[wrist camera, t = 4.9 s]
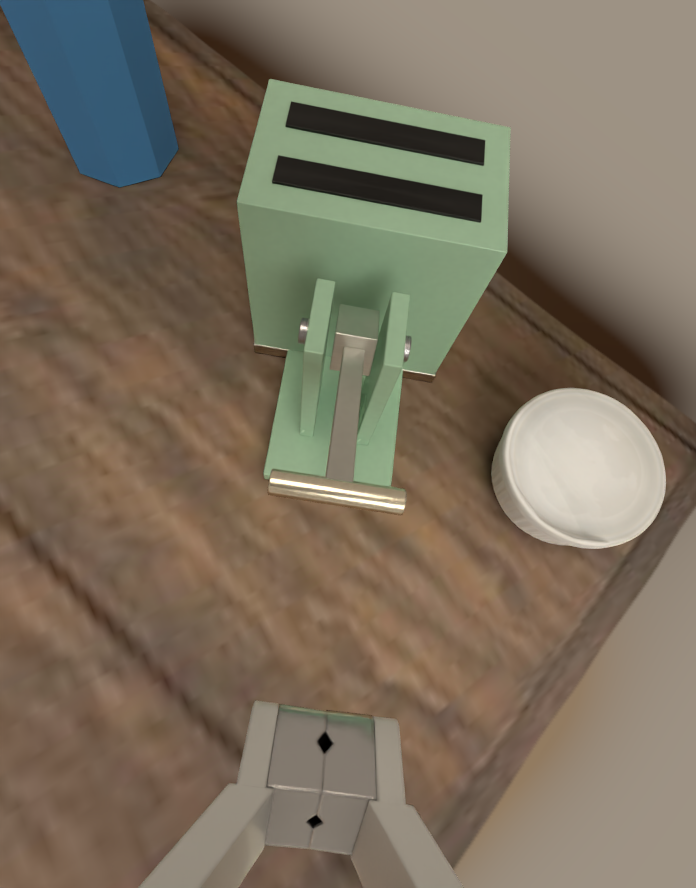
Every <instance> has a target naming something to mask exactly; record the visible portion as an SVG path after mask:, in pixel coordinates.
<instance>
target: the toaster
mask: <svg viewBox="0 0 696 888" xmlns="http://www.w3.org/2000/svg"><path fill="white" fill-rule="evenodd" d="M510 129H511V128H510V127H505V126H500V125H495V124H490V123H485V122H481V121H476V120H470V119H466V118H461V117H455V116H451V115H446V114H441V113H436V112H431V111H426V110H421V109H416V108H411V107H406V106H401V105H396V104H391V103H386V102H381V101H376V100H372V99H367V98H361V97H357V96H352V95H347V94H342V93H337V92H332V91H327V90H322V89H317V88H312V87H307V86H302V85H297V84H292V83H287V82H282V81H278V80H273V79H269V82H268V86H267V90H266V94H265V97H264V101H263V105H262V109H261V112H260V116H259V120H258V124H257V127H256V131H255V135H254V139H253V142H252V146H251V150H250V154H249V157H248V161H247V165H246V169H245V172H244V176H243V180H242V184H241V187H240V191H239V195H238V199H237V209H238V216H239V224H240V232H241V239H242V247H243V255H244V262H245V270H246V278H247V285H248V293H249V301H250V308H251V316H252V324H253V331H254V339H255V340H254V351H255V352H256V353H262V354H268V355H274V356H280V357H286V356H287V351H288V350H294V351H300V352H304V345H303V344H299V343H298V334H299V327H300V322H301V319H302V318H308V319H309V318H310V313H311V307H312V302H313V296H314V291H315V285H316V280H317V279H318V278H319V279H324V280H330V281H335V290H334V298H333V305H332V313H331V320H330V327H329V335H328V342H327V350H326V356H328V357H329V356H330V357H331V356H332V350H333V343H334V337H335V331H336V325H337V319H338V313H339V306H340V304H343V305H349V306H355V307H360V308H366V309H372V310H377V311H379V329H378V335H379V332H380V329H381V326H382V323H383V319H384V316H385V313H386V310H387V307H388V303H389V300H390V297H391V294H392V292H397V293H402V294H408V295H410V303H409V313H408V322H407V332H406V336H411V339H412V342H411V349H410V354H409V357H408V360H407V362H403V368H402V370H403V375H402V377H404V378H410V379H416V380H421V381H427V382H432V381H433V379H434V378H435V376H436V371H437V370H438V368H439V366H440V365H441V363H442V361H443V359H444V358H445V356H446V354H447V353H448V351H449V349H450V348H451V346H452V344H453V343H454V341H455V339H456V338H457V336H458V334H459V333H460V331H461V329H462V327H463V326H464V324H465V322H466V321H467V319H468V317H469V316H470V314H471V312H472V311H473V309H474V307H475V306H476V304H477V302H478V301H479V299H480V297H481V295H482V294H483V292H484V290H485V289H486V287H487V285H488V284H489V282H490V280H491V279H492V277H493V275H494V274H495V272H496V270H497V268H498V267H499V265H500V263H501V262H502V260H503V258H504V257H505V255H506V253H507V237H508V200H509V163H510Z"/></svg>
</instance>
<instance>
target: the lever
mask: <svg viewBox="0 0 696 888" xmlns="http://www.w3.org/2000/svg"><path fill="white" fill-rule="evenodd" d="M378 329H379V311H377V310H372V309H366V308H360V307H355V306H349V305H343V304H340V306H339V313H338V319H337V325H336V331H335V337H334V343H333V350H332V356H331V362H330V370H336V371H340V374H339V381H338V388H337V395H336V402H335V410H334V417H333V424H332V431H331V438H330V446H329V453H328V460H327V467H326V474H325V476H320V475H313V474H307V473H301V472H294V471H288V470H281V469H275V468H273V469H272V470H271V473H270V478H269V484H268V495H270V496H276V497H283V498H289V499H296V500H302V501H309V502H315V503H322V504H329V505H335V506H342V507H348V508H355V509H361V510H368V511H374V512H381V513H387V514H394V515H402V514H403V512H404V510H405V505H406V497H407V494H406V490H405V489H403V488H396V487H390V486H384V485H377V484H371V483H364V482H358V481H353V478H354V467H355V455H356V444H357V433H358V421H359V410H360V398H361V387H362V376H363V375H365V376H369V375H370V371H371V367H372V363H373V359H374V354H375V350H376V346H377V342H378Z"/></svg>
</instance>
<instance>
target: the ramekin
mask: <svg viewBox="0 0 696 888" xmlns="http://www.w3.org/2000/svg"><path fill="white" fill-rule="evenodd" d="M491 476H492V484H493V489H494V492H495V494H496V498H497V500H498V502H499V504H500V506H501V508H502V509H503V510H504V512H505V514H506V515H507V516H508V517H509V518H510V520H511V521H512V522H513V523H515V524H516V526H517V527H518V528H520V529H522V530H523V531H524V532H525V533H527V534H530V535H531V536H532V537H534V538H537V539H539V540H541V541H545V542H547V543H550V544H557V545H571V546H575V547H580V548H592V549H597V548H606V547H612V546H616V545H620V544H622V543H625V542H627V541H629V540H631V539H633V538H635V537H637V536H638V535H639V534H641V533H642V532H643V531H644V530H646V529H647V528H648V526H649V525H650V524H651V523H652V522H653V520H654V519H655V518H656V516H657V514H658V512H659V510H660V507H661V505H662V502H663V499H664V494H665V486H666V476H665V468H664V462H663V458H662V454H661V452H660V450H659V448H658V445H657V443H656V441H655V440H654V438H653V436H652V435H651V433H650V432H649V430H648V429H647V427H646V426H645V425H644V424H643V422H642V421H641V420H640V419H639V418H638V417H637V416H636V415H635V414H634V413H633V412H632V411H631V410H630V409H628V408H627V407H626V406H624V405H623V404H621V403H620V402H618V401H617V400H615V399H614V398H611V397H609V396H607V395H604V394H601V393H598V392H595V391H591V390H587V389H580V388H562V389H555V390H551V391H548V392H545V393H543V394H540V395H538V396H536V397H534V398H533V399H531V400H530V401H528V402H527V403H525V404H524V405H523V406H522V407H520V408H519V409H518V411H517V412H516V413H515V414H514V415H513V416H512V418H511V419H510V421H509V422H508V424H507V426H506V428H505V430H504V433H503V436H502V439H501V440H500V442H499V445H498V446H497V448H496V451H495V454H494V457H493V463H492V471H491Z"/></svg>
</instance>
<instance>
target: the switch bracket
mask: <svg viewBox="0 0 696 888" xmlns="http://www.w3.org/2000/svg"><path fill="white" fill-rule="evenodd" d="M334 290H335V281H330V280H324V279H319V278H318V279H317V280H316V285H315V291H314V296H313V302H312V307H311V313H310V318H309V319H308V318H302V319H301V322H300V327H299V334H298V343H299V344H303V345H304V352H300V351H294V350H288V351H287V356H286V361H285V366H284V371H283V376H282V381H281V386H280V391H279V396H278V402H277V407H276V412H275V417H274V422H273V427H272V432H271V437H270V442H269V447H268V452H267V458H266V463H265V468H264V473H263V475H264V479H269V478H270V473H271V470H272V469H273V468H275V469H281V470H288V471H294V472H301V473H307V474H313V475H320V476H325V474H326V467H327V460H328V453H329V446H330V438H331V431H332V424H333V417H334V410H335V402H336V395H337V388H338V381H339V374H340V371H336V370H330V362H331V357H330V356H329V357H328V356H326V350H327V342H328V335H329V327H330V320H331V313H332V305H333V298H334ZM409 303H410V295H408V294H402V293H397V292H392V294H391V297H390V300H389V303H388V307H387V310H386V313H385V316H384V319H383V323H382V326H381V329H380V332H379V335H378V342H377V346H376V350H375V354H374V359H373V363H372V367H371V371H370V375H369V376H365V375H363V376H362V387H361V398H360V410H359V421H358V433H357V444H356V455H355V467H354V478H353V481H358V482H364V483H371V484H377V485H384V486H390V487H391V480H392V471H393V461H394V452H395V442H396V433H397V423H398V414H399V404H400V394H401V385H402V375H403V370H402V368H403V362H407V360H408V357H409V354H410V349H411V342H412V339H411V336H406V332H407V322H408V313H409Z"/></svg>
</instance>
